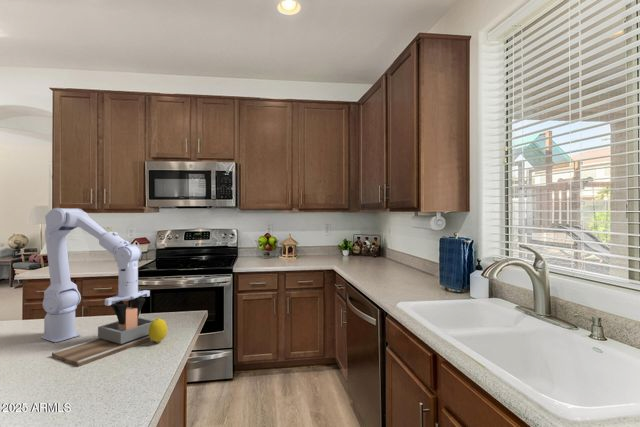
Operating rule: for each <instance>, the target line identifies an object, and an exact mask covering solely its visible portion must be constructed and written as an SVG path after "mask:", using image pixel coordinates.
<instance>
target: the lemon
mask: <svg viewBox="0 0 640 427" xmlns="http://www.w3.org/2000/svg"><path fill="white" fill-rule="evenodd" d="M153 320H154V321H153V322H152V323H151V324H150V327H149V337H150V338H151V339H152V340H151V341H153V342H155V343H157V344H158V343H160V342H161V341H163V340H164V339H165V337H166V336H167V334H168V326H167V325H168V324H167V322H166V321H165V320H164V319H162V318H159V317H158V318H156V319H153Z"/></svg>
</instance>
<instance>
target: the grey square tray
mask: <svg viewBox="0 0 640 427" xmlns="http://www.w3.org/2000/svg"><path fill="white" fill-rule="evenodd" d="M154 320H155V319H150V318H147V317H146V318H145V317H140V316H139V317H138V320H137V326H136V327H133V328H130V329H127V330H125V329H121V328H119V322H118V320H116V321H114V322H111V323H106V324H104V325H100V326H97V338H102V339H105V340H109V341H112V342H116V343H119V344H124V343H125V342H128V341H131V340H134V339H137V338H140V337H142V336H145V335H148V334H149V327H150V324H151V323H152V322H153V321H154Z"/></svg>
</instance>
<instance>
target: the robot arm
mask: <svg viewBox="0 0 640 427" xmlns="http://www.w3.org/2000/svg"><path fill="white" fill-rule="evenodd" d="M44 217H45V225H46V226H45V230H44V236H45V237H44V238H45V239H44V240H45V246H46V253H47V254H46V255H47V261H48V262H47V263H48V272H49V282H50V285H49V286H48V287H47V288H46V289H45V290H44V291H43V294H44V295H43V300H42V308H43V310H44V311H45V312H46V315H45V316H44V318H43V323H44V324H43V325H44V326H43V327H44V328H43V335H42V336H41V337H40V338H41V339H43V340H47V341H49V342H53V343H60V342H63V341H65V340H66V341H67V340H68V339H73V338H76V337H80V336H81V335H82V333H79V332H77V331H76V309H77V308H78V305H79V304H80V303H81V299H82V297H81V296H82V295H81V293H80V291H79V290H78V285H77V283H74V282H73V281H72V280H71V272H70V264H69V256H68V245H67V238H66V237H67V235H68V234H69V233H70V232H71V231H74V230H75V229H77V228H80V229H82V230H84V231H85V232H87V233H88V234H90V235H91V236H93V237H94V238H96V239H97V240H98V244H99V245H100V246H101V247H102V248H103V249H105V251H107V252H109V253H110V254H111V255H112V256H113V259H114V261H115V262H116V265H117V268H118V294H116V295H114V296H112V297H109V298H108V297H107V298H104V306H106V307H107V306H108V307H109V306H111V308H112V309H113V311H114V313H115V315H116V318H117V321H118V322H119V324H122V325H123V324H125V312H126V308H128V304H126V303H125V302H128V301H129V304H130V307H133V308H137V320H138V317H140V312H141V310H142V308H143V305H144V304H145V302H146V298H145V297H150V296H151V295H150V294H151V290H147V289H145V290H139V260H140V259H141V258H142V254H143V253H142V249H141V248H140V247H139V245H137V244H135V243H134V244H131V243H130V242H129V241H128V240H125V239H123V238H122V237H121V236H119V233H118V232H117V231H107V230H105V228H103V227H102V226H100V224H98V222H96V221H95V220H94V219H93V218H91V217H90V216H89V213H88V212H86V211H84V210H83V209H82V208H78V207H75V208H74V207H73V208H68V207H67V208H61V207H53V208H51V210H50V211H48V212H47V213H46V214H45V216H44Z"/></svg>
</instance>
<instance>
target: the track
mask: <svg viewBox="0 0 640 427" xmlns="http://www.w3.org/2000/svg"><path fill="white" fill-rule="evenodd" d="M149 341H153V340H152V339H151V338H150V337H149V334H148V335H145V336H142V337H140V338H137V339H134V340H131V341H128V342H125V343H124V344H119V343H116V342H112V341H109V340H105V339H102V338H98V337H97V338H94V339H91V340H88V341H85V342H81V343H78V344H75V345H72V346H68V347H65V348H62V349H59V350H55V351H52V352H51V357H52V358H54V359H56V360H60V361H62V362H66V363H67V364H70V365H73V366H76V367H81V366H84V365H87V364H90V363H93V362H95V361H98V360H101V359H103V358H106V357H108V356H111V355H114V354H116V353H120V352H122V351H125V350H127V349H131V348H133V347H135V346H138V345H141V344H145V343H146V342H149Z"/></svg>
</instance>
